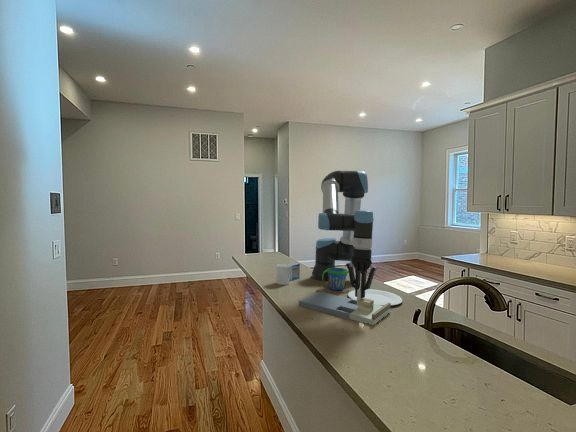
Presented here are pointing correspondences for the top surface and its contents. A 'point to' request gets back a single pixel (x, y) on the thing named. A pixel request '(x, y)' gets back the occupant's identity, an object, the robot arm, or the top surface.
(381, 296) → the plate
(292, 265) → the medicine box
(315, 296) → the board
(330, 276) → the snack cup
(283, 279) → the white cup
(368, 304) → the maple block
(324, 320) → the top surface
